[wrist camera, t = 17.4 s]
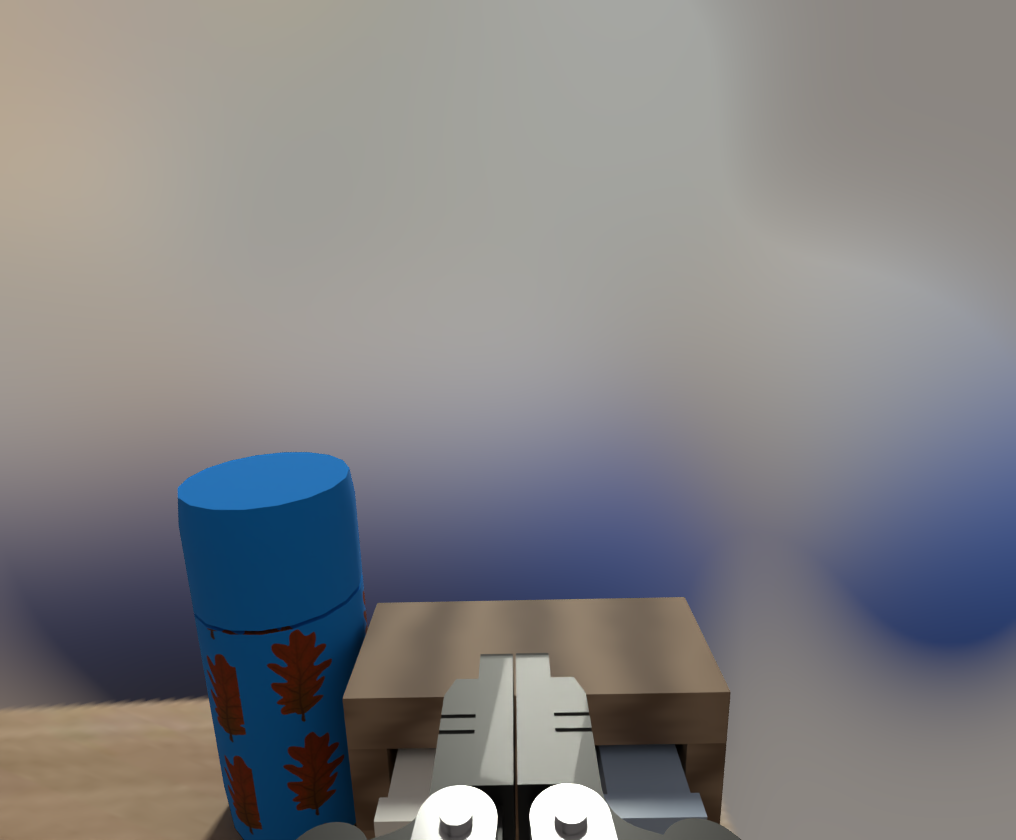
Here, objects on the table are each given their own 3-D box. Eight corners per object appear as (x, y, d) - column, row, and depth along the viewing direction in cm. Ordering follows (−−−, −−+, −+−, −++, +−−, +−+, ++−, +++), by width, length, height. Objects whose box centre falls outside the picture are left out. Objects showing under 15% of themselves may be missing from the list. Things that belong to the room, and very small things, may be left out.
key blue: (604, 895, 35) (606, 818, 33) (581, 736, 46) (582, 673, 44) (701, 894, 34) (707, 816, 33) (655, 735, 46) (658, 672, 44)
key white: (381, 898, 35) (373, 821, 33) (412, 738, 46) (408, 676, 44) (477, 896, 35) (474, 820, 33) (485, 737, 46) (483, 675, 44)
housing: (363, 893, 41) (342, 698, 37) (392, 767, 50) (377, 603, 46) (714, 888, 40) (730, 691, 36) (675, 763, 50) (684, 597, 46)
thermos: (398, 816, 46) (370, 489, 39) (237, 884, 41) (174, 526, 35) (360, 720, 55) (332, 442, 49) (225, 766, 51) (173, 467, 44)
